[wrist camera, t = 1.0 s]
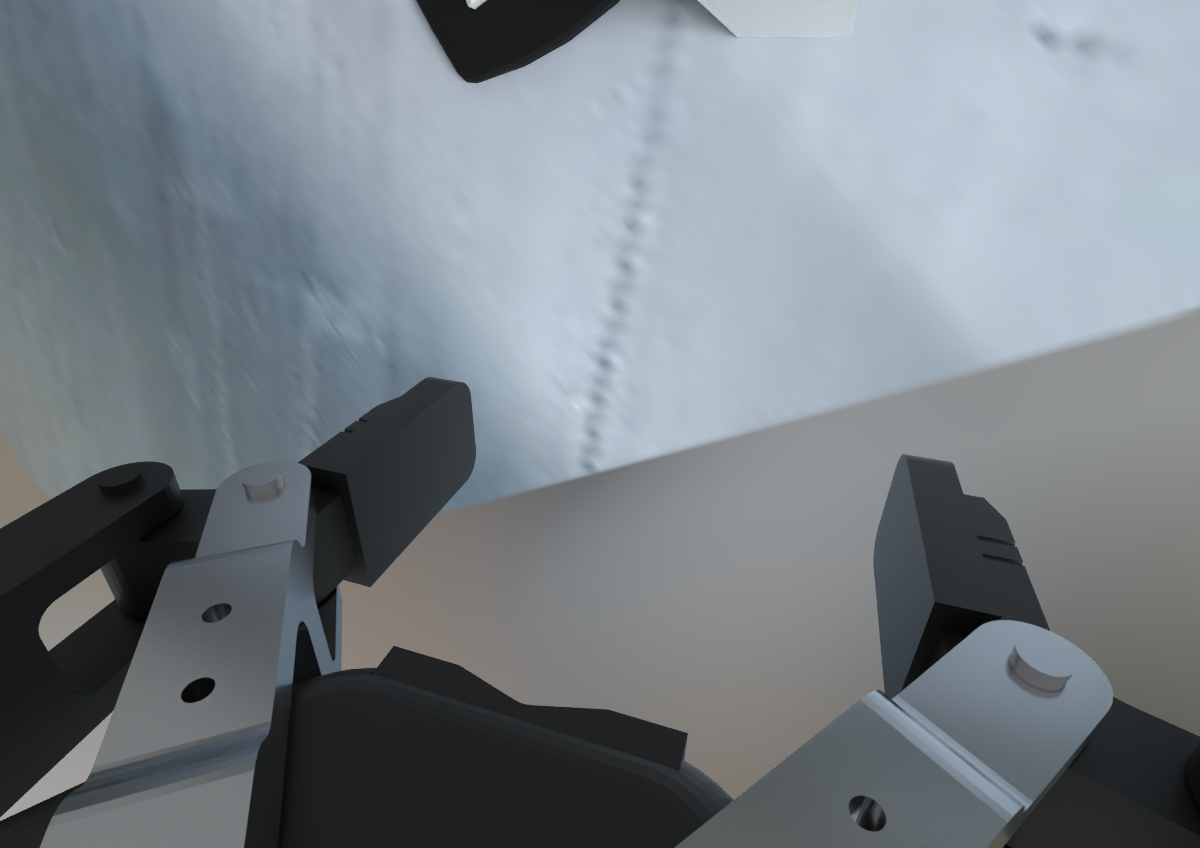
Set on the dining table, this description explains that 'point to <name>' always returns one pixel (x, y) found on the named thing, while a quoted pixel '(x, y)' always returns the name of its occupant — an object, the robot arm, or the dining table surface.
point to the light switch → (506, 31)
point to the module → (786, 17)
